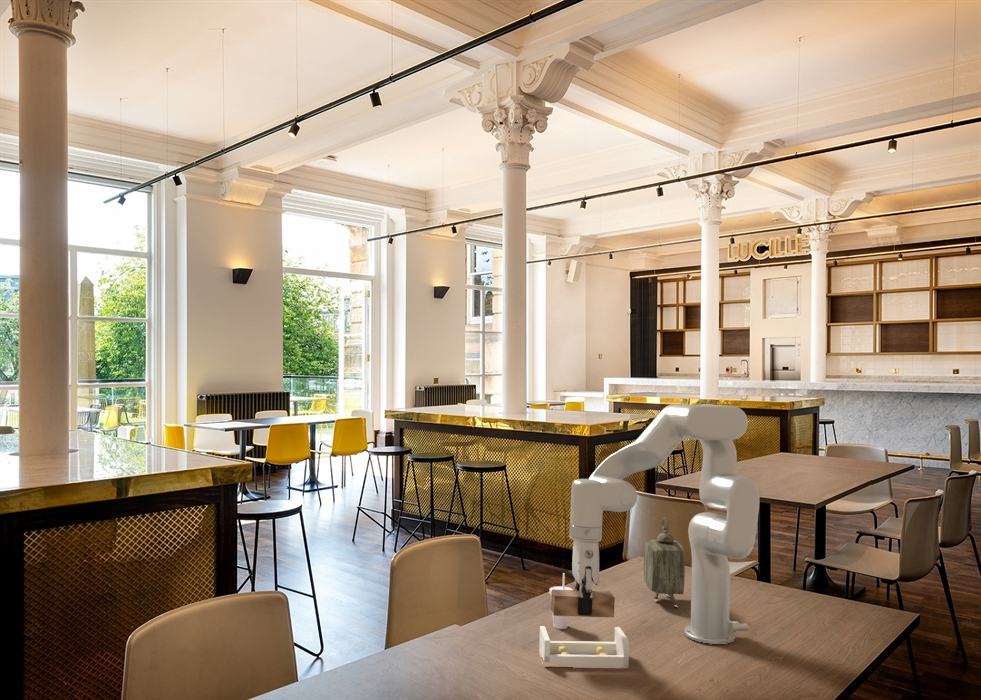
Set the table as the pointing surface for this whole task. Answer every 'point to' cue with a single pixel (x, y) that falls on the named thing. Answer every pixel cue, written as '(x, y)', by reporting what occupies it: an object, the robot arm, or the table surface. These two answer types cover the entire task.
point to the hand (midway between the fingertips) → (582, 610)
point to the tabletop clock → (664, 565)
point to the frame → (586, 651)
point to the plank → (568, 603)
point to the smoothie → (560, 621)
